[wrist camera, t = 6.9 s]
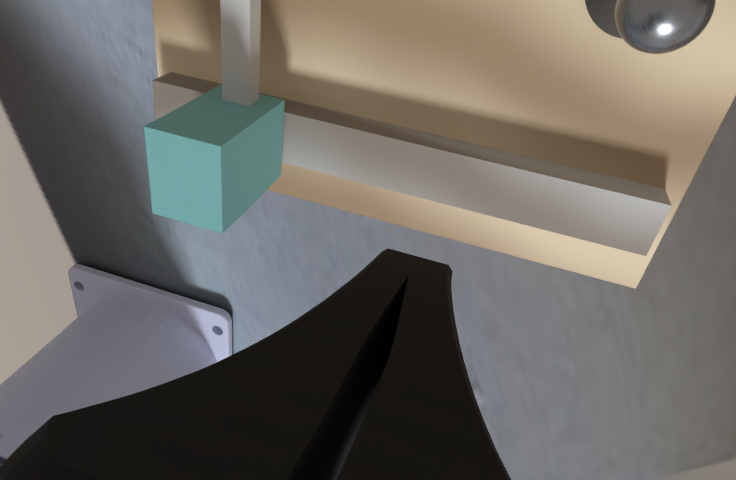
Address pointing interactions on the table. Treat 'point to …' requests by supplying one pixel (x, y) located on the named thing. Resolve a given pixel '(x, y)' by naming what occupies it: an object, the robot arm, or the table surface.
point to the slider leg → (219, 136)
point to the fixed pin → (662, 23)
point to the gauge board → (477, 117)
